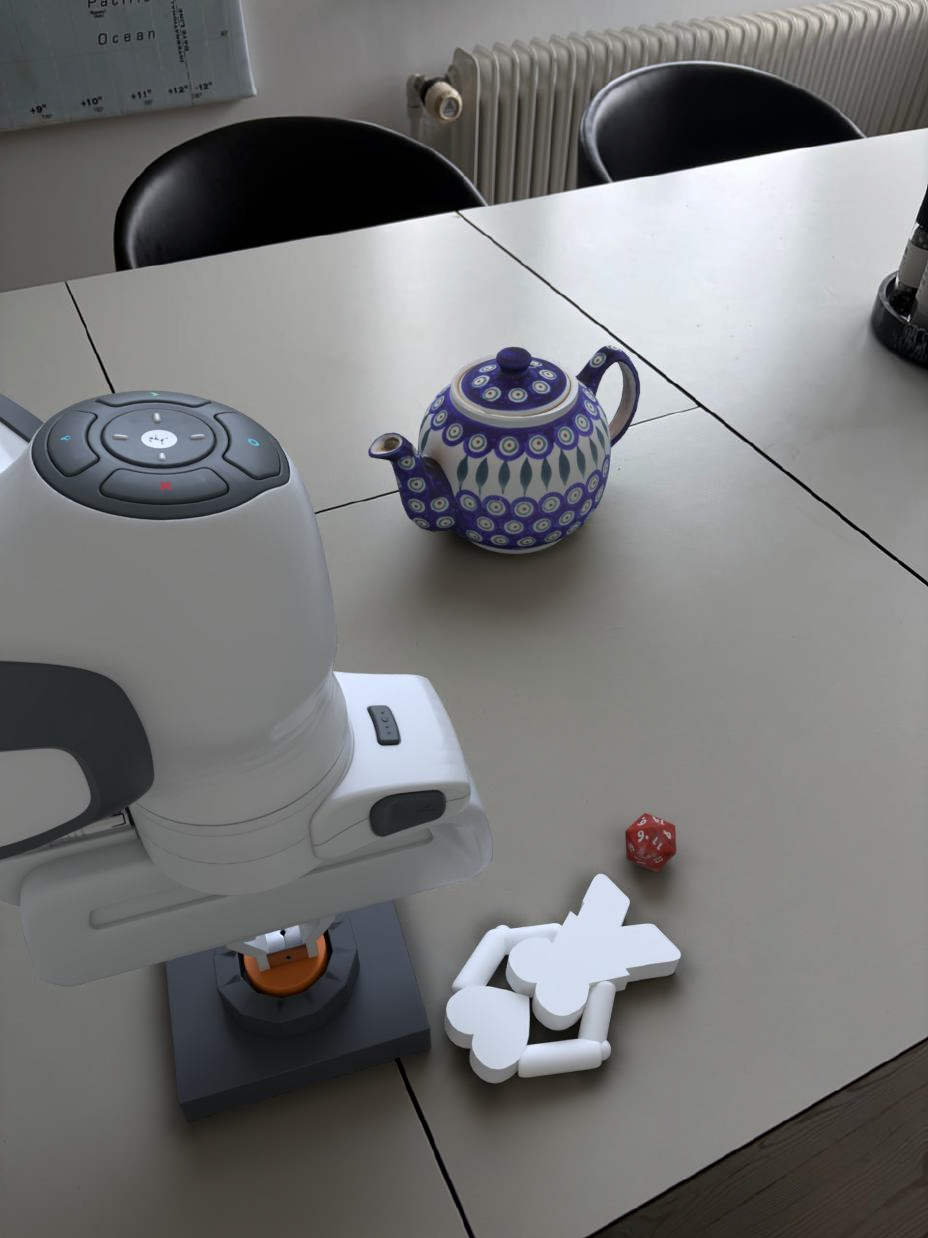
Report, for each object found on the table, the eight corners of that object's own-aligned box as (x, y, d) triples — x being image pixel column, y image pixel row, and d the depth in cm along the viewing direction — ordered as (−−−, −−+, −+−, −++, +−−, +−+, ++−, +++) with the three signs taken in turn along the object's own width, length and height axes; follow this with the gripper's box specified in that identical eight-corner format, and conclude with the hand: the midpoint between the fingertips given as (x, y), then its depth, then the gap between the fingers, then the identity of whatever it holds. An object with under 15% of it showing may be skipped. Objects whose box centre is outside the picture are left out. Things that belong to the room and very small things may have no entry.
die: (680, 847, 59) (688, 817, 57) (662, 888, 57) (669, 858, 55) (633, 827, 60) (639, 797, 58) (613, 866, 58) (619, 836, 56)
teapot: (578, 428, 91) (592, 271, 81) (688, 513, 82) (719, 347, 72) (331, 518, 82) (312, 352, 71) (424, 625, 72) (418, 453, 62)
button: (255, 1016, 49) (249, 999, 48) (243, 943, 52) (238, 926, 50) (336, 993, 50) (332, 975, 49) (320, 923, 52) (316, 905, 51)
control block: (187, 1123, 48) (170, 1088, 45) (168, 938, 55) (153, 898, 52) (431, 1048, 50) (429, 1011, 47) (383, 881, 57) (379, 840, 54)
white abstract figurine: (410, 987, 52) (413, 964, 50) (581, 879, 58) (587, 856, 57) (519, 1132, 47) (524, 1111, 45) (693, 997, 53) (703, 975, 51)
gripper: (-38, 915, 36) (69, 1077, 45) (508, 777, 40) (501, 951, 49) (-30, 778, 40) (66, 952, 49) (462, 667, 44) (464, 847, 54)
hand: (287, 951), depth 49 cm, fingers closed, pressing on button
